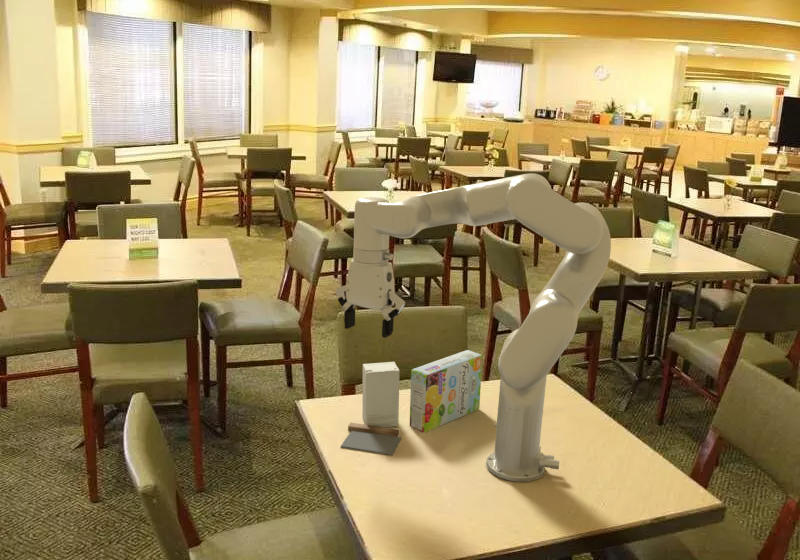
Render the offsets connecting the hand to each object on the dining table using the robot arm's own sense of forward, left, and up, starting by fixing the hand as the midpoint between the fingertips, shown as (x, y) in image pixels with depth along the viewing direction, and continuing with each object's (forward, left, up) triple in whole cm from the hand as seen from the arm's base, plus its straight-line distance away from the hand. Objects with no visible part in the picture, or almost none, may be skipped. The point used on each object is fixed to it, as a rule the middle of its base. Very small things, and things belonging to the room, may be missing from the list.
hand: (368, 331), depth 164 cm
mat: (-1, -1, -27) cm, 27 cm away
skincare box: (0, -12, -27) cm, 30 cm away
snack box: (-15, -20, -28) cm, 37 cm away
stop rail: (0, -6, -27) cm, 28 cm away
